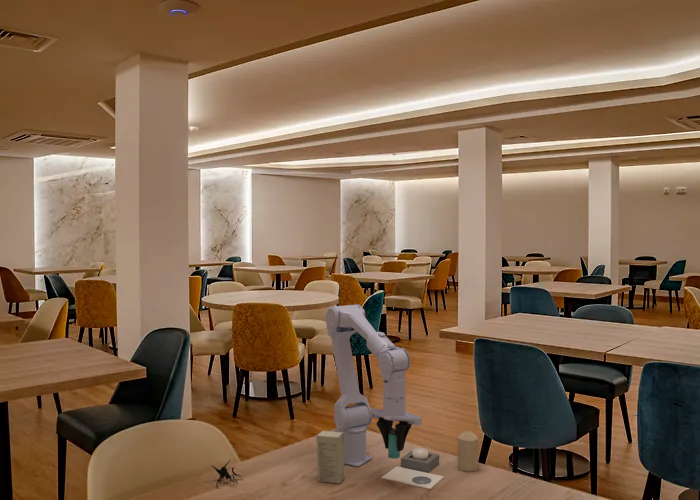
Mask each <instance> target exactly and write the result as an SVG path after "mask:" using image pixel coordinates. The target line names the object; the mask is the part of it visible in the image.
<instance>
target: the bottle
mask: <svg viewBox="0 0 700 500" xmlns="http://www.w3.org/2000/svg"><path fill="white" fill-rule="evenodd" d="M387 455H388V456H387V457H388V458H390V459H396V460H397V459H399V458H401V451H398V450H397V433H396V428H395V427H392V428H391V429H389V433H388V449H387Z"/></svg>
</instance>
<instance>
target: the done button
mask: <svg viewBox="0 0 700 500" xmlns="http://www.w3.org/2000/svg"><path fill="white" fill-rule="evenodd" d="M411 451H412V458H413V459H418V460H423V461H425V460H427V459H428V452H429V449H427V448H425V447H414V448H413V449H412V450H411Z"/></svg>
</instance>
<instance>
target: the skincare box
mask: <svg viewBox="0 0 700 500" xmlns="http://www.w3.org/2000/svg"><path fill="white" fill-rule="evenodd" d="M316 458H317V461H316V462H317V481H318V482H322V483H323V482H324V483H332V484H340V483H341V482H342V481H344V479H345V477H346V475H345V464H344V435H343V432H333V431H329V430H322V431H321V432H319V433H318V434H317V435H316Z"/></svg>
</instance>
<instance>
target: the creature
mask: <svg viewBox="0 0 700 500" xmlns="http://www.w3.org/2000/svg"><path fill="white" fill-rule="evenodd" d="M230 461H231V459H229V460H228V461H227V462H226V464H225V465H224V466H221V467H220V469H219V468H217V467H216V466H214V465H212V464H211V465H209V466H210V467H212V468H213V469H214V470H215V471H216V472H217V474H219V479H218V480H217V482H216V487H217V488H219V485H218V484H219V482H220V483H221V479H222V480H224V478H225V479H226V480H229V479H230V480H229V481H230V482H232V483H233V485H234V486H236V485H237V486H238V482H237V479H235V476H236V477H240V478H241V479H242V480H244V478H243V477H242V476H241V475H240V474H237V473H236V472H235V471H234V469H235V467H231V466H230V467H228V468H227V465H228V464H229V463H230ZM230 469H231V472H232V474H230V472H229V470H230ZM235 481H236V482H235ZM235 483H236V484H235Z"/></svg>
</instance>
